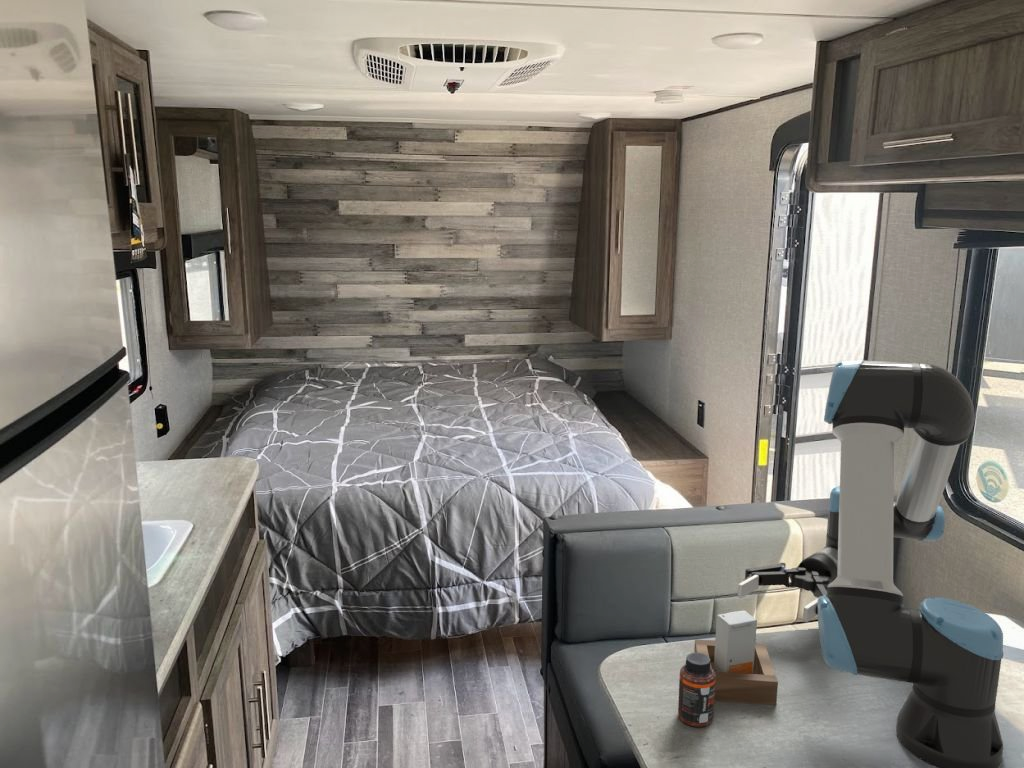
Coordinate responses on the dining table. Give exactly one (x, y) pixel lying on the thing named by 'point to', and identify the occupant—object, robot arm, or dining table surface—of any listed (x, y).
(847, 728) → the dining table surface
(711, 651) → the walnut tray
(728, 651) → the skincare box
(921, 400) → the robot arm
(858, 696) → the dining table surface
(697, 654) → the supplement bottle
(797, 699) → the dining table surface
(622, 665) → the dining table surface
